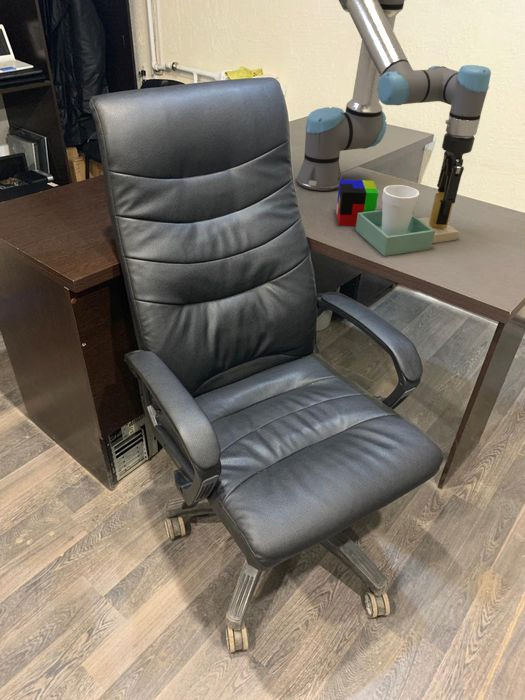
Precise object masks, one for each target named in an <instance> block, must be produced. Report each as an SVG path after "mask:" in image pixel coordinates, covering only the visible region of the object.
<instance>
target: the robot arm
mask: <svg viewBox="0 0 525 700" xmlns="http://www.w3.org/2000/svg"><path fill="white" fill-rule="evenodd" d="M338 2H339V4H340V6H341V8H342V10H343V11H344V12H347V13H349V15H350V17H351V19H352V21H353V24H354V26H355V28H356V30H357V32H358V34H359V37H360V38H361V44H360V50H359V57H358V61H357V67H356V68H357V69H356V73H355V80H354V86H353V93H352V98H351V99H350V100H348V101H347V102H346V106H345V111H344V109H342V108H340V107H334V106H332V107H328V106H327V107H321V108H317V109H314V110H312V111H311V112H310V113H308V116H307V117H306V125H305V138H304V139H305V141H304V157H303V161H302V164H301V167H300V169H299V172H298V174H297V180H296V181H297V184H298V185H299V186H300V187H301V188H303V189H306V190H310V191H314V192H315V191H316V192H329V191H335V190H339V182H340V180H343V176H342V170H341V166H340V153H341V151H352V150H360V149H363V150H364V149H368V148H372V147H376V146H377V145H379V144H380V143H381V142H382V140H383V139H384V136H385V134H386V131H387V121H386V120H387V117H386V114H385V113H384V110H383V106H382V104H383V105H385V106H402V105H410V104H411V105H412V104H423V103H434V102H435V103H436V102H440V103H444V104H447V105H450V109H449V113H448V119H446V120H445V121H444V122H445V124H446V128H445V133H444V136H443V140H442V145H441V148H442V150H443V151H444V152H443V160H442V164H441V168H440V172H439V176H438V181H437V184H436V187H437V193H439V192H444V197H443V200H440V202H441V205H440V209H439V213H438V217H437V221H436V224H439V225H446V224H447V220H448V216H449V212H450V209H451V205H452V203H453V204H455V203H456V199H457V195H458V191H459V186H460V183H461V178H462V175H463V172H464V170H465V167H464V166H463V165H464V159H463V156H464V155H465V154H469V153H471V152H472V150H473V147H474V143H475V139H476V138H475V136H476V135H477V132H478V128H479V124H480V121H481V115H482V111H483V107H484V104H485V102H486V101H485V100H486V97H487V93H488V91H489V89H490V82H491V81H490V80H491V75H492V70H491V69H490V68H489V67H487V66H483V65H478V64H465V65H462V66H460V67H459V70H454V69H452V68H449V67H446V66H443V65H442V66H441V65H433V66H430V67H428V68H427V69H414V68H412V65H411V63H410V62H409V60H408V58H407V55H406V53H405V52H404V50H403V48H402V46H401V44H400V42H399V40H398V38H397V36H396V34H395V32H394V28H395V23H396V18H397V16H398V14H400V13H401V11H403V10H404V5H405V2H406V0H338ZM380 102H381V103H382V104H381V103H380Z"/></svg>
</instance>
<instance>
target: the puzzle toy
mask: <svg viewBox="0 0 525 700" xmlns="http://www.w3.org/2000/svg"><path fill="white" fill-rule="evenodd" d="M378 197H379V191H378V188H377V186H376V183H375V181H374V180H367V179H365V180H364V179H342V180H340V182H339V188H338V191H337V201H336V209H335V213H336V219H337V224H338V226H344V227H345V226H347V227H356V222H357V215H358V213H361V212H369V211H376V210H377V204H378Z"/></svg>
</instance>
